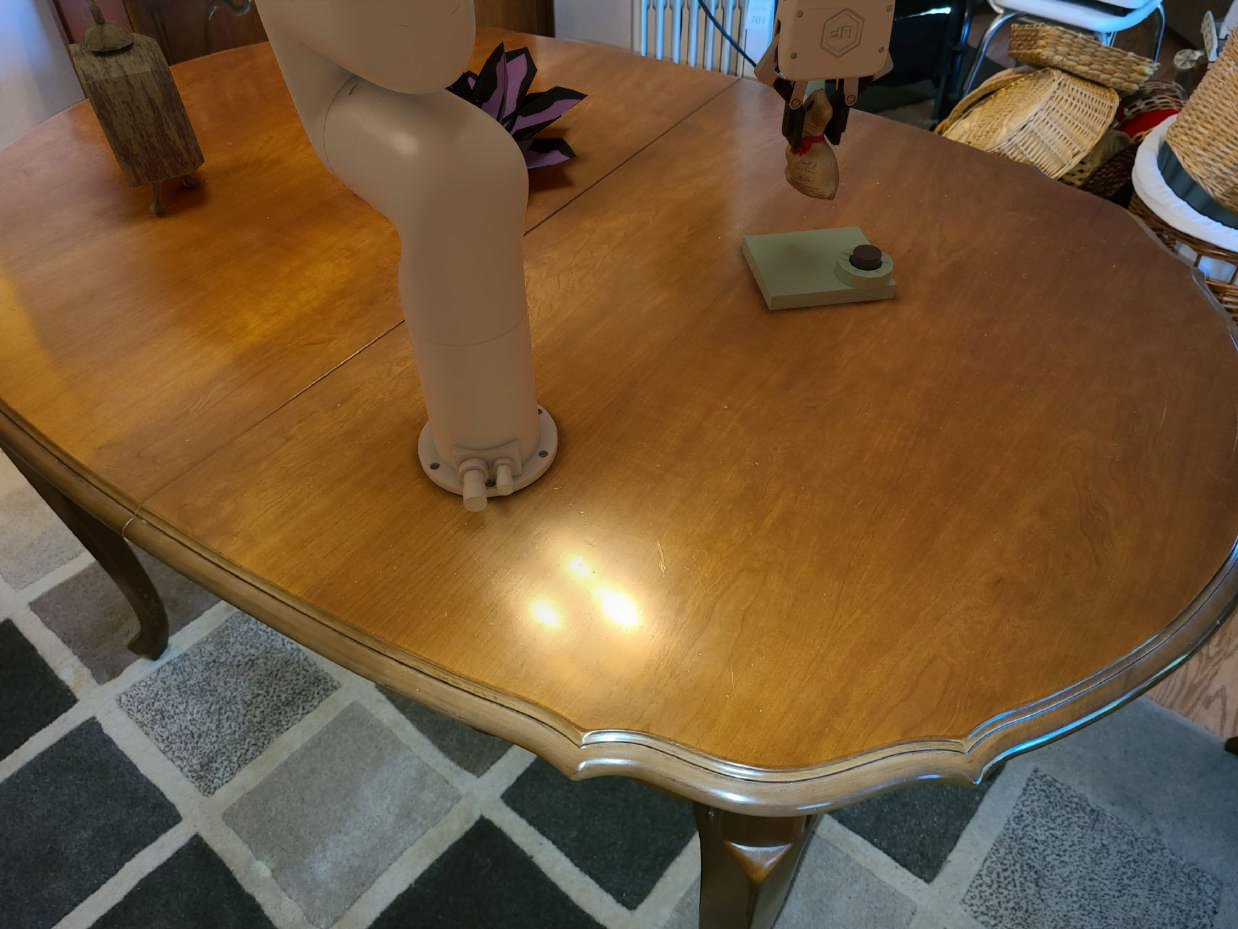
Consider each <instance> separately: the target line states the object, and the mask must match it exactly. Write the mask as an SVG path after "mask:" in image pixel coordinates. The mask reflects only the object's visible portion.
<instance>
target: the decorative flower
mask: <svg viewBox="0 0 1238 929" xmlns="http://www.w3.org/2000/svg"><path fill="white" fill-rule="evenodd" d="M537 72H538V67H537V65H536V64H535V61H534V59H533V57H532V54H531V52H530V50H529V47H528V46H523V47H521V48H516V49H511V50H509V51H506V50H505V44H504V40H503V41H501V42H500V43H499V44H498V45H497V46H496V47H495V48H494V49H493V50H492V52H491V53H490V55H489V56H488V57H487V58H486V60H485V62H484V64H483V66H482V68H481V70H480V72H479V73H478V74H477V73H475V72H473V71H472V70H470V69H468V70H467V71H466V72H465V71H464V72H463V74H462V75H461V76H460V77H459V78H458V80H457V81H455V82H454V83H453V84H452V85H450V86H448V87H446V88H444V89H446V90H448V91H449V92H451V93H453V94H455V95H457V96H458V97H460V98H462V99H464V100H466V101H468V102H469V103H471V104H473V105H475V106H476V107H478V108H480V109H481V110H483V111H484V112H486V113H487V114H489V115H490V116H491V117H492V118H494V119H495V120H496V121H497V122H499V123H500V124H501V125H502V126H503V127H504V128H505V130H506V131H507V132H508V133H509V134H510V135H511V136H512V138H513V139H514V140H515V142H516V143H517V145H518V147H519V148H520V150H521V152H522V155H523V157H524V160H525V163H526V166H527V171H535V170H539V169H542V168H546V167H551V166H554V165H557V164H560V163H563V162H565V161H568V160H571V159H573V158H577V155H576V153H575V151H574V150H573V149H572V148H573V147H571V146H570V144H569V143H568V142H567V141H566V140H565V139H564V138H563V137H534V136H536V135H537V134H539V133H540V132H542V131H543V130H545V129H546V128H548V127H549V126H551V125H552V124H553V123H554V122H556V121H558V120H559V119H560V118H562V116H563V114H564V113H566V112H568V111H570V110H571V109H573V107H575V106H576V105H578V104H579V103H581V102H582V101H583V100H584V99H586V98H587V97H589V94H586V93H583V92H580V91H578V90H575V89H572V88H568V87H565V86H564V87H563V86H559V85H555V86H553V87H551V88H549V89H547V90H545V91H535V92H529V90H530V88H531V86H532V83H533V82H534V79H535V77H536V76H537Z"/></svg>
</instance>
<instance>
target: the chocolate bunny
mask: <svg viewBox="0 0 1238 929" xmlns="http://www.w3.org/2000/svg"><path fill="white" fill-rule="evenodd" d="M802 106H803V107H804V109H805V111H806V114H805V120H804V126H803V132H802V139H801V145H800V147H798V148H795V149H792V147H791V145H790V144H789V143H787V145H786V147H785V152H784V153H785V154H784V156H785V159H786V166H785V168H784V174H785V180H786V182H787V183H788V184H789V185H790V186H791V187H792V188H793V189H794V190H796V191H797V192H799V193H800V194H802V195H804V196H806V197H808V198H812V199H819V200H823V201H825V200H826V201H834V200H835V199H836V198H835V197H836V195H837V192H838V190H839V184H840V171H839V164H838V161H837V160H838V159H837V157H836V154H835V152H834V149H833V147H832V146H831V145H830V144H829V142H828V141H827V139H826V136H825V134H824V131H825V128H826V125H827V124H828V123H829V121H830V120H831V118H832V115H833V111H832V106H831V105H830V103H829V98H828V95H827V92H826V90H825V88H823V87H820V88H818V89H816V90H815V89H814V90H813V91H812V92H811V93H810V94H809V95H808V96H807V97H806V99H805V100H804V101H803V104H802Z"/></svg>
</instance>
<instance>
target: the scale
mask: <svg viewBox="0 0 1238 929" xmlns="http://www.w3.org/2000/svg"><path fill="white" fill-rule="evenodd" d="M864 244H867V245H872V244H871V243H870V241H869V239H868V238H867V237H866V235H865V234H864V231H863V230H862V229H861V227H860V225H855V226H844V227H833V228H832V227H831V228H821V229H809V230H808V229H807V230H798V231H786V232H776V233H765V234H763V233H762V234H754V235H753V234H752V235H743V237H742V246H741V252H742V253H743V256H744V257H745V261H746V262H747V265H749V269H750V270H751V273H752V275H753V278H754V279H755V281H756V282H755V283H756V284H757V286H758V288H759V290H760V292H761V295H762V297H763V299H764V301H765V303H766V305H767V307H768V310H769V311H776V310H786V309H797V308H806V307H817V306H818V307H819V306H828V305H837V304H838V305H839V304H848V303H858V302H860V303H861V302H870V301H878V300H889V299H894V296H895V292H896V288H897V285H898V284H897V282H896V281H895V279H894V278H893V276H892V272H893V270H894V266H895V262H894V261H893V259H892V257H891V255H889V254H888V253H886V252H884V251H883V250H881V252H882V257H881V261H880V264H879V267H878V269H877V270H873V271H864V270H860V269H857V268H855V267H854V266H852V264H851V260H852V255H853V251H854V248H855V247H857V246H859V245H864Z"/></svg>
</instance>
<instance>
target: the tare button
mask: <svg viewBox="0 0 1238 929" xmlns="http://www.w3.org/2000/svg"><path fill="white" fill-rule="evenodd" d="M881 251H882V250H881V249H880V248H879V247H877V246H875V245H872V244H871V245H867V244H864V245H859V246H857V247H855V248H854V251H853V255H852V260H851V264H852V266H854V267H855V268H857V269H860V270H864V271H873V270H877V269H878V267H879V264H880V261H881V257H882V252H883V251H882V252H881Z"/></svg>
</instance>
